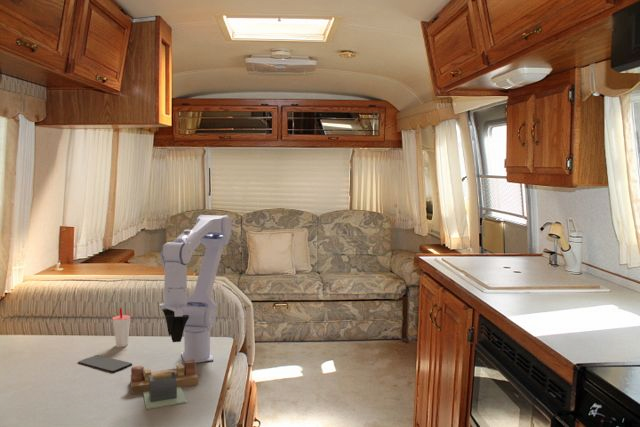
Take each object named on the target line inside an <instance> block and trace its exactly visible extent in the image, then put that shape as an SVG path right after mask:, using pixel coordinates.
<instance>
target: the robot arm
mask: <svg viewBox="0 0 640 427" xmlns="http://www.w3.org/2000/svg"><path fill="white" fill-rule="evenodd" d="M232 225H233V224H232V219H231V217H230V216H229V215H228V214H227V215H226V214H225V215H216V214H215V215H208V214H200V215H198V217H196V222H195V225H194V226H193V227H192V228H191V229H184V230H183V232H182V233H181V234H180V235H179V236H177V237H176V238H175V239H174V240H173V241H168V242H166V243H164V244H163V245H162V246H161V250H160V261H161V263H162V270H163V271H164V281H163V282H164V285H163V286H164V289H163V290H164V291H163V292H164V295H163V298H164V300H163V303H159V308H161V310H162V313H163V314H164V319H165V322H166V327H167V333H168V335H169V336H170V338H171V341H172V343H181V342H182V339H183V341H184V344H183V346H184V349H183V350H184V351H181V352H180V354H181V357H182V359H183V361H184V360H190V359H194V361H195V364H196V363H203V362H204V363H205V362H209V361H214V356H213V355H212V354H211V332H210V331H211V329H212V328H213V326H215V323H216V320H217V310H218V306H217V304H216V301H214V300H213V299H212V298H211V295H212V292H213V289H214V283H215V280H216V276H217V272H218V269H219V264H220V262H221V256H222V253H223V249H224V247H225V246H227V245H228V244H229V241H230V238H231V234H232V231H233V228H232V227H233V226H232ZM200 245H204V246H205V248H206V249H205V252H204V254H203V255H204V256H203V259H202V263H201V265H200V268H199V269H200V270H199V273H198V276H197V280H196V284H195V288H194V292H193V293H192V294H191V295H189V296H187V295H188V294H187V290H188V288H187V284H188V275H187V274H188V264H189V263H190V262H191V259H192V256H193V253H194V251H195V250H196V249H197V248H198V247H199V246H200ZM183 334H184V336H183ZM183 337H184V338H183Z"/></svg>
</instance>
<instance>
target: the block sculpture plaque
mask: <svg viewBox="0 0 640 427" xmlns="http://www.w3.org/2000/svg"><path fill="white" fill-rule="evenodd" d="M183 362H184V365H183V363H179V364H178V363H177V364H176V368H171V369H162V370H155V371H152V370H151V367H148V368H144V367H145V366H143V365H135V366H133V367H132V366H131V368H130V371H131V372H130V386H131V393H132V394H131V395H138V394H143V392H148V391H149V375H154V374H156V373H163V372H170V371H171V372H175V375H176V378H177V387H181V388H184V387H185V388H186V387H191V386H198V385H199V376H198V372H197V371H196V363H195V361H194V359H190V360H184V359H183Z"/></svg>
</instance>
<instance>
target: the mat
mask: <svg viewBox="0 0 640 427" xmlns="http://www.w3.org/2000/svg"><path fill="white" fill-rule="evenodd" d="M142 394H143V398H144V399H143V400H144V404H145V409H146V410H150V409H157V408H162V407H163V408H164V407H170V406H175V405H181V404H186V403H187V399H186V398H185V395H184V391H183V389H182V387H177V398H175V399H168V400H162V401H156V402H150V397H149V391H148V392H143V393H142Z"/></svg>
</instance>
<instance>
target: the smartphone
mask: <svg viewBox="0 0 640 427" xmlns="http://www.w3.org/2000/svg"><path fill="white" fill-rule="evenodd" d="M77 364H79V365H82V366H86V367H90V368H92V369H95V370H96V369H97V370H99V371H104V372H106V373H109V374H110V373H111V374H115V373H118V372H121V371H123V370H125V369H127V368H129V367H132V366H133V363H132V362H128V361H125V360H120V359H116V358H113V357H109V356H104V355H102V354H96V355H93V356H90V357H87V358H84V359H81V360H79V361H78V362H77Z"/></svg>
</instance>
